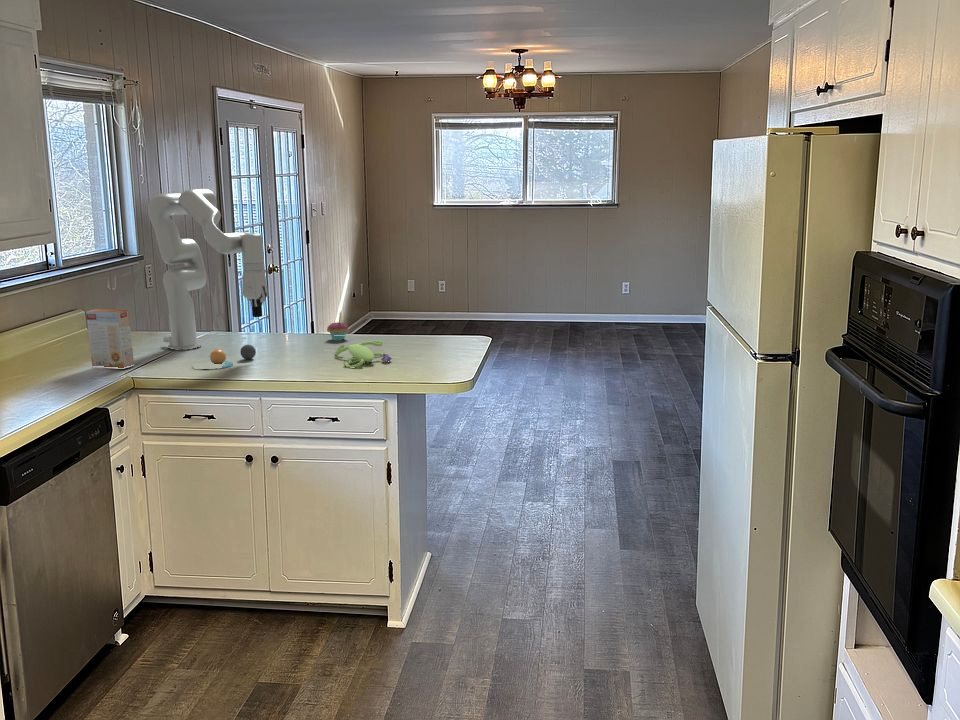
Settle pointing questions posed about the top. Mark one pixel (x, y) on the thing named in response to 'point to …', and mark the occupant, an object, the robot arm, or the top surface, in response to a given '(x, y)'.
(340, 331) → the cupcake
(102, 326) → the cracker box
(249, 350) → the dark gray ball
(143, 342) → the top surface
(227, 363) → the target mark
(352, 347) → the figurine
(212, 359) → the object ball
